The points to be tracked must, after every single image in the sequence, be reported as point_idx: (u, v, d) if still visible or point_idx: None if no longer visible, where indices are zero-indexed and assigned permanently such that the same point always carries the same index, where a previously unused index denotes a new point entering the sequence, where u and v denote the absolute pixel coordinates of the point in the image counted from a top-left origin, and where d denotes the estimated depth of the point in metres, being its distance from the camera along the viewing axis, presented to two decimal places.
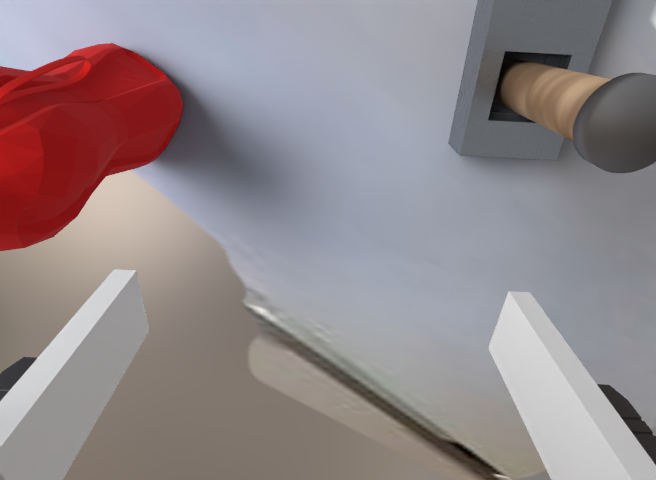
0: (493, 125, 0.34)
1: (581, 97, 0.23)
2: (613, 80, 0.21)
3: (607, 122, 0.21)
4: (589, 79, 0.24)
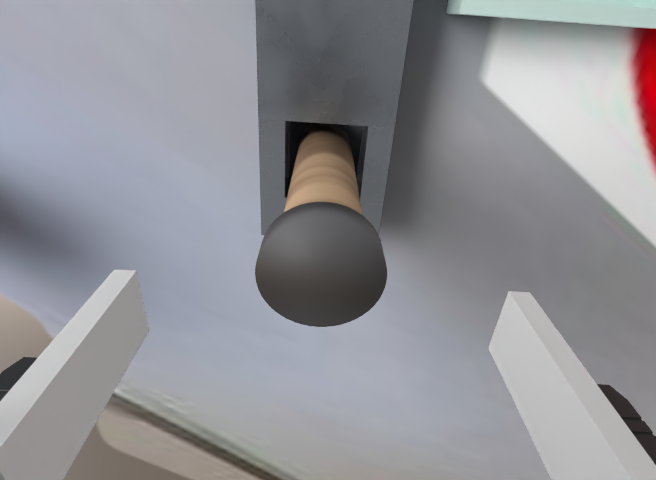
0: None
1: None
2: (288, 212, 0.15)
3: (276, 271, 0.15)
4: (309, 188, 0.18)
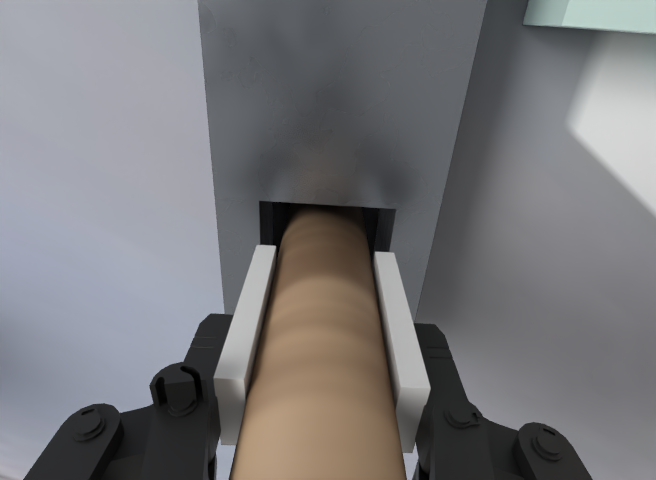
0: None
1: None
2: None
3: None
4: (288, 419, 0.08)
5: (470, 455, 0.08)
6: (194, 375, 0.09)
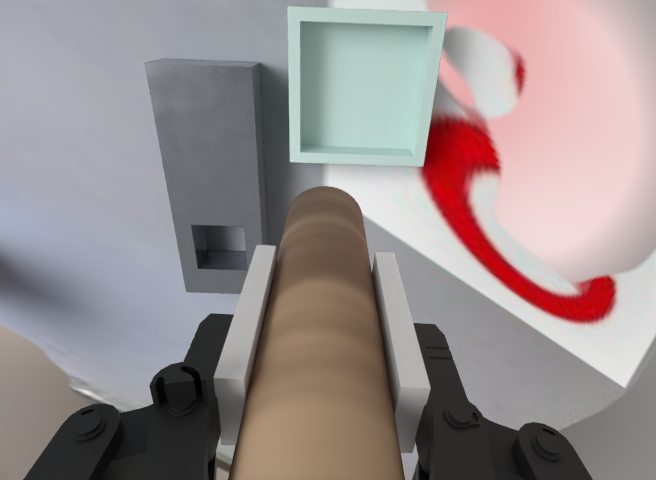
0: (204, 272, 0.43)
1: None
2: None
3: None
4: (287, 421, 0.08)
5: (470, 455, 0.08)
6: (194, 375, 0.09)
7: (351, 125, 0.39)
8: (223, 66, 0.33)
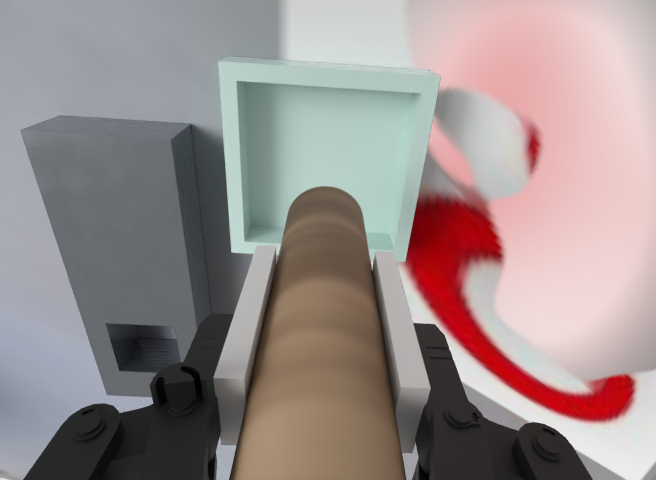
0: (127, 375, 0.34)
1: None
2: None
3: None
4: (288, 421, 0.08)
5: (470, 455, 0.08)
6: (194, 375, 0.09)
7: None
8: (131, 137, 0.24)
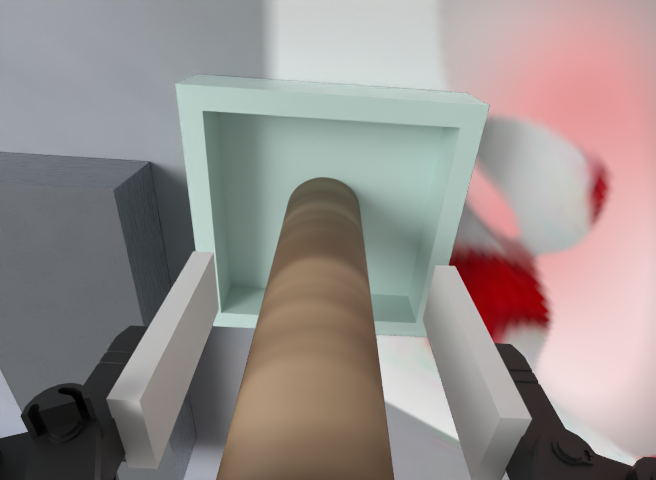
0: None
1: (226, 457, 0.08)
2: None
3: None
4: (282, 375, 0.09)
5: None
6: (76, 395, 0.09)
7: None
8: (59, 187, 0.17)
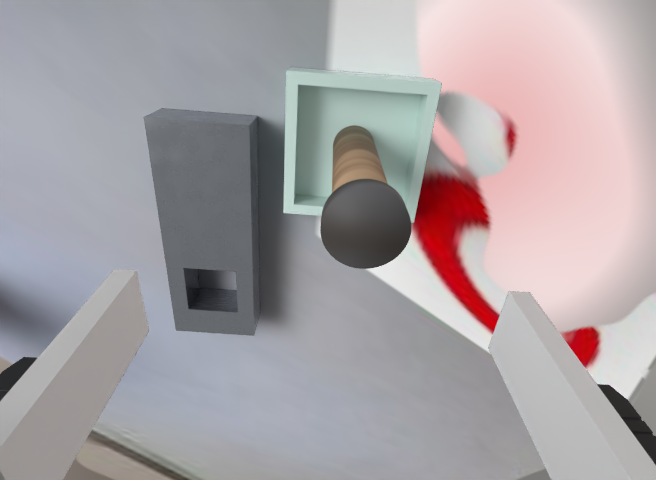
0: (194, 312, 0.44)
1: None
2: (344, 185, 0.22)
3: (335, 225, 0.22)
4: (353, 172, 0.25)
5: None
6: None
7: None
8: (221, 123, 0.34)
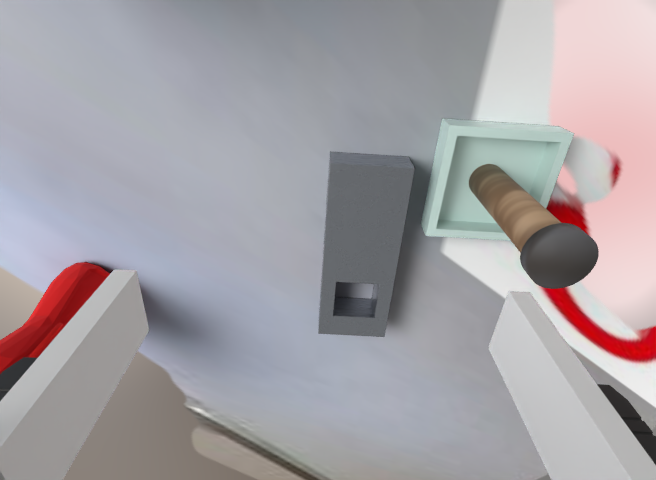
0: (337, 318, 0.52)
1: (528, 230, 0.32)
2: (546, 228, 0.30)
3: (541, 258, 0.30)
4: (535, 214, 0.33)
5: None
6: None
7: (475, 205, 0.47)
8: (392, 167, 0.41)
